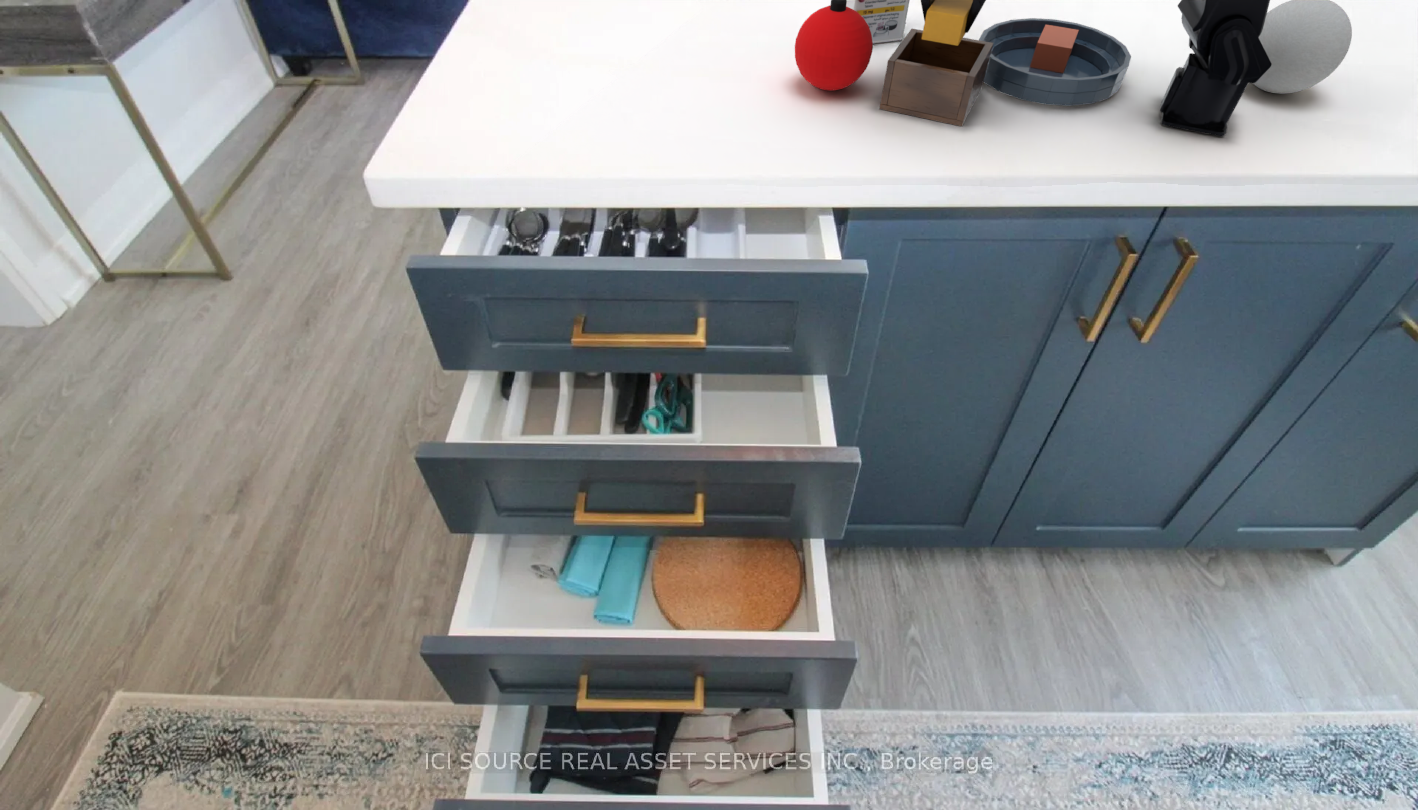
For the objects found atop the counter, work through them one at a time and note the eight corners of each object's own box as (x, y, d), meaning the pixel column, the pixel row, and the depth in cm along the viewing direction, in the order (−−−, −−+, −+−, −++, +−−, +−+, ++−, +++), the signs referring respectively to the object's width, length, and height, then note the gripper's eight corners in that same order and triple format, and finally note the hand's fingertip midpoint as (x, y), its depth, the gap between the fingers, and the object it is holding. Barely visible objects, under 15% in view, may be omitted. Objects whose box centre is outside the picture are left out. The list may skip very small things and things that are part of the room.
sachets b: (1070, 54, 95) (1078, 29, 93) (1063, 73, 92) (1071, 48, 90) (1037, 48, 97) (1045, 24, 94) (1029, 67, 93) (1037, 42, 91)
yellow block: (970, 25, 84) (977, -4, 82) (957, 46, 81) (964, 16, 78) (935, 19, 85) (941, -9, 83) (921, 39, 82) (927, 10, 79)
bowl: (1125, 61, 95) (1137, 33, 93) (1109, 122, 85) (1122, 91, 82) (988, 37, 100) (995, 9, 98) (958, 91, 90) (965, 62, 87)
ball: (1241, 63, 95) (1286, -24, 87) (1329, 88, 90) (1384, -1, 83) (1211, 89, 90) (1257, 0, 82) (1302, 118, 85) (1359, 26, 78)
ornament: (882, 90, 90) (897, 1, 83) (825, 111, 87) (836, 21, 79) (831, 63, 95) (842, -23, 88) (776, 83, 92) (782, -5, 84)
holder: (980, 90, 90) (993, 42, 86) (962, 126, 84) (975, 77, 80) (902, 75, 93) (911, 28, 89) (879, 109, 87) (887, 60, 83)
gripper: (1100, -154, 73) (1047, 15, 85) (912, -172, 78) (886, -11, 90) (1084, -125, 66) (1029, 54, 78) (880, -147, 72) (857, 23, 83)
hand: (947, 28), depth 83 cm, fingers closed on yellow block, 4 cm apart
